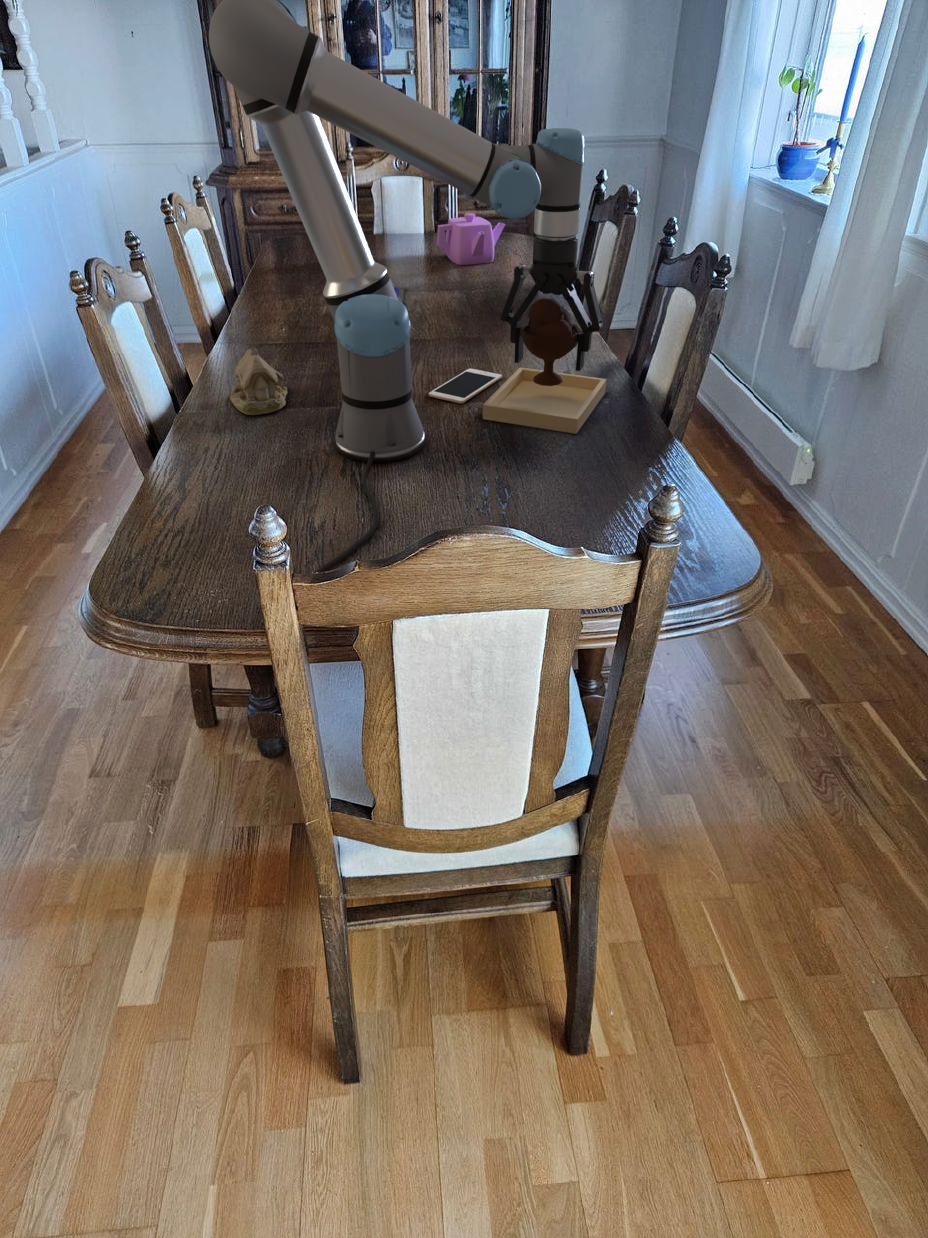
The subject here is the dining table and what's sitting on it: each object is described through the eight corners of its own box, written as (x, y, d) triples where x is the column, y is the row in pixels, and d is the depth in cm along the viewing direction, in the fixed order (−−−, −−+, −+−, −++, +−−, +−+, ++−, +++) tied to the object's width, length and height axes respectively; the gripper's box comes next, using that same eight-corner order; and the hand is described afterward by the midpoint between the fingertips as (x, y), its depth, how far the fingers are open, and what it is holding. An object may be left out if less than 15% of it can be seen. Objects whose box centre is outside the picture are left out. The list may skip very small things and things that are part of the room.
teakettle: (457, 249, 257) (456, 206, 249) (507, 255, 250) (508, 210, 243) (431, 262, 244) (430, 216, 237) (482, 268, 238) (483, 221, 231)
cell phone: (502, 377, 168) (502, 374, 167) (462, 404, 157) (462, 400, 156) (469, 370, 171) (469, 367, 171) (427, 396, 160) (427, 393, 160)
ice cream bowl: (575, 393, 148) (581, 307, 140) (513, 388, 150) (516, 304, 141) (580, 372, 157) (587, 290, 148) (522, 368, 159) (525, 287, 150)
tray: (576, 434, 146) (577, 419, 144) (482, 419, 151) (482, 404, 150) (605, 392, 162) (606, 378, 160) (519, 380, 167) (519, 367, 165)
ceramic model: (226, 392, 162) (217, 341, 156) (283, 384, 165) (276, 334, 159) (237, 419, 152) (227, 365, 146) (297, 410, 155) (290, 357, 149)
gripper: (629, 236, 138) (616, 365, 151) (498, 225, 145) (496, 350, 158) (619, 246, 132) (606, 379, 145) (482, 234, 139) (482, 363, 153)
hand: (548, 364), depth 152 cm, fingers closed on ice cream bowl, 11 cm apart
